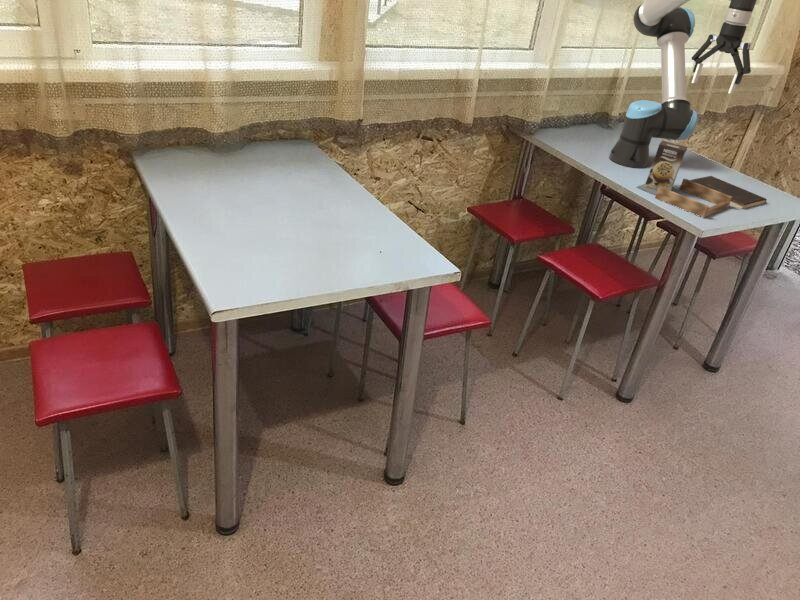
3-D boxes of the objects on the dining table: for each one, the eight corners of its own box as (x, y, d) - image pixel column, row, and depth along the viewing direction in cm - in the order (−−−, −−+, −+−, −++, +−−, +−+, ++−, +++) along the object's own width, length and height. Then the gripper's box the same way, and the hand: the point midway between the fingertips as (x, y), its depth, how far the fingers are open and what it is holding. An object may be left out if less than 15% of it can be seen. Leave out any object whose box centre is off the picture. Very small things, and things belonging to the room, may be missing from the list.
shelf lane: (655, 198, 229) (658, 187, 227) (681, 188, 240) (685, 178, 238) (702, 218, 218) (707, 207, 216) (728, 207, 229) (732, 196, 227)
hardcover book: (740, 210, 230) (743, 204, 228) (685, 186, 245) (687, 180, 244) (764, 204, 238) (767, 198, 237) (709, 181, 254) (711, 175, 252)
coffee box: (643, 186, 236) (658, 143, 227) (647, 182, 241) (661, 139, 232) (669, 194, 233) (685, 150, 224) (672, 189, 238) (688, 146, 229)
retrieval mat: (636, 187, 236) (636, 186, 235) (656, 181, 244) (656, 180, 244) (658, 196, 230) (658, 195, 230) (677, 189, 239) (678, 188, 238)
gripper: (695, 15, 223) (674, 79, 234) (768, 31, 208) (741, 98, 219) (705, 15, 228) (684, 77, 239) (777, 31, 213) (751, 96, 224)
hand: (711, 87), depth 229 cm, fingers open, 13 cm apart
